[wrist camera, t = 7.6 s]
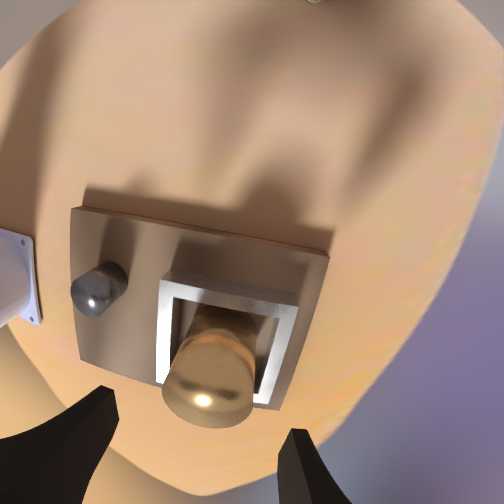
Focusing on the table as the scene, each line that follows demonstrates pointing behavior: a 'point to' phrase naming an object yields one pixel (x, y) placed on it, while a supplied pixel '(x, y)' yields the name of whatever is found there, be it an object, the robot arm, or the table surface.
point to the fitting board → (186, 294)
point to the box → (314, 1)
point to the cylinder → (214, 369)
